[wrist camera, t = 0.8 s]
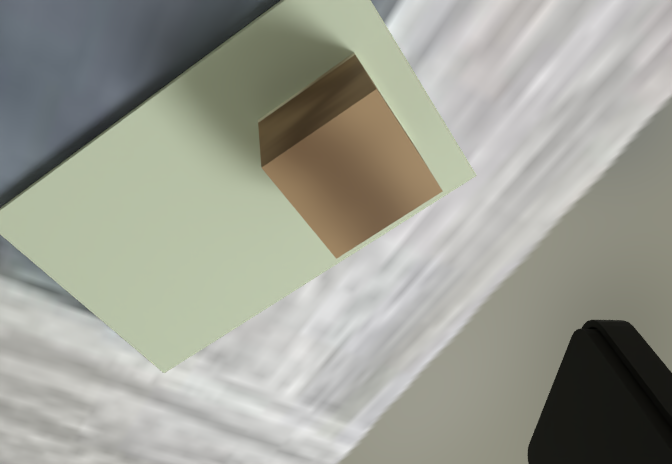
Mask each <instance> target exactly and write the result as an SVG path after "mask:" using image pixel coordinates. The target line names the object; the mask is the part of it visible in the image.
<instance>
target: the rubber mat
mask: <svg viewBox="0 0 672 464" xmlns="http://www.w3.org/2000/svg"><path fill="white" fill-rule="evenodd" d="M353 53H355V55H356V56H357V58H358V59H359V61H360V62H361V64H362V65H363V67H364V68H365V70H366V71H367V73H368V75H369V76H370V78H371V79H372V81H373V82H374V84H375V85H376V87H377V88H378V90H379V92H380V93H381V95H382V96H383V98H384V99H385V101H386V102H387V104H388V105H389V107H390V108H391V110H392V112H393V113H394V115H395V116H396V118H397V119H398V121H399V122H400V124H401V125H402V127H403V128H404V130H405V132H406V133H407V135H408V136H409V138H410V139H411V141H412V142H413V144H414V145H415V147H416V149H417V150H418V152H419V154H420V155H421V157H422V158H423V160H424V162H425V163H426V165H427V166H428V168H429V170H430V171H431V173H432V174H433V176H434V178H435V179H436V181H437V182H438V184H439V186H440V187H441V189H442V191H443V192H441V193H439V194H438V195H436V196H435V197H433V198H432V199H430V200H428V201H427V202H425V203H424V204H422V205H421V206H419V207H417V208H416V209H414V210H413V211H411V212H409V213H408V214H406V215H405V216H403V217H402V218H400V219H398V220H397V221H395V222H394V223H392V224H391V225H389V226H387V227H386V228H384V229H383V230H381V231H380V232H378V233H376V234H375V235H373V236H372V237H370V238H368V239H367V240H365V241H364V242H362V243H361V244H359V245H357V246H356V247H354V248H353V249H351V250H350V251H348V252H346V253H345V254H343V255H342V256H340V257H339V258H337V259H336V258H335V257H334V255H333V254H332V253H331V252H330V250H329V249H328V248H327V247H326V246H325V244H324V243H323V242H322V241H321V240H320V238H319V237H318V236H317V235H316V233H315V232H314V231H313V230H312V229H311V227H310V226H309V225H308V224H307V223H306V221H305V220H304V219H303V218H302V216H301V215H300V214H299V213H298V212H297V210H296V209H295V208H294V207H293V206H292V204H291V203H290V202H289V201H288V199H287V198H286V197H285V196H284V195H283V193H282V192H281V191H280V190H279V189H278V187H277V186H276V185H275V184H274V183H273V181H272V180H271V179H270V178H269V176H268V175H267V174H266V173H265V172H264V170H263V169H262V168H261V156H260V142H259V129H258V120H259V119H260V118H261V117H263V116H264V115H266V114H267V113H269V112H270V111H271V110H273V109H274V108H276V107H277V106H279V105H280V104H281V103H283V102H284V101H286V100H287V99H289V98H290V97H291V96H293V95H294V94H296V93H297V92H299V91H300V90H301V89H303V88H304V87H306V86H307V85H308V84H310V83H311V82H313V81H314V80H316V79H317V78H318V77H320V76H321V75H323V74H324V73H326V72H327V71H328V70H330V69H331V68H333V67H334V66H336V65H337V64H338V63H340V62H341V61H343V60H344V59H346V58H347V57H348V56H350V55H351V54H353ZM475 176H476V174H475V172H474V171H473V169H472V167H471V166H470V164H469V162H468V161H467V159H466V157H465V156H464V154H463V152H462V151H461V149H460V147H459V146H458V144H457V142H456V141H455V139H454V138H453V136H452V134H451V133H450V131H449V129H448V128H447V126H446V124H445V123H444V121H443V119H442V118H441V116H440V114H439V113H438V111H437V109H436V108H435V106H434V104H433V103H432V101H431V100H430V98H429V96H428V95H427V93H426V91H425V90H424V88H423V86H422V85H421V83H420V81H419V80H418V78H417V76H416V75H415V73H414V71H413V70H412V68H411V66H410V65H409V63H408V62H407V60H406V58H405V57H404V55H403V53H402V52H401V50H400V48H399V47H398V45H397V43H396V42H395V40H394V38H393V37H392V35H391V33H390V32H389V30H388V28H387V27H386V25H385V24H384V22H383V20H382V19H381V17H380V15H379V14H378V12H377V10H376V9H375V7H374V5H373V4H372V2H371V0H281V1H279V2H278V3H277V4H275V5H274V6H273V7H271V8H270V9H269V10H267V11H266V12H264V13H263V14H262V15H260V16H259V17H258V18H256V19H255V20H254V21H252V22H251V23H250V24H248V25H247V26H246V27H244V28H243V29H241V30H240V31H239V32H237V33H236V34H235V35H233V36H232V37H231V38H229V39H228V40H227V41H225V42H224V43H223V44H221V45H220V46H218V47H217V48H216V49H214V50H213V51H212V52H210V53H209V54H208V55H206V56H205V57H204V58H202V59H201V60H200V61H198V62H197V63H195V64H194V65H193V66H191V67H190V68H189V69H187V70H186V71H185V72H183V73H182V74H181V75H179V76H178V77H177V78H175V79H174V80H172V81H171V82H170V83H168V84H167V85H166V86H164V87H163V88H162V89H160V90H159V91H158V92H156V93H155V94H154V95H152V96H151V97H149V98H148V99H147V100H145V101H144V102H143V103H141V104H140V105H139V106H137V107H136V108H135V109H133V110H132V111H131V112H129V113H128V114H126V115H125V116H124V117H122V118H121V119H120V120H118V121H117V122H116V123H114V124H113V125H112V126H110V127H109V128H108V129H106V130H105V131H103V132H102V133H101V134H99V135H98V136H97V137H95V138H94V139H93V140H91V141H90V142H89V143H87V144H86V145H85V146H83V147H82V148H80V149H79V150H78V151H76V152H75V153H74V154H72V155H71V156H70V157H68V158H67V159H66V160H64V161H63V162H62V163H60V164H59V165H57V166H56V167H55V168H53V169H52V170H51V171H49V172H48V173H47V174H45V175H44V176H43V177H41V178H40V179H39V180H37V181H36V182H34V183H33V184H32V185H30V186H29V187H28V188H26V189H25V190H24V191H22V192H21V193H20V194H18V195H17V196H16V197H14V198H13V199H11V200H10V201H9V202H7V203H6V204H5V205H3V206H2V207H1V208H0V235H2V236H3V237H4V238H5V239H6V240H8V241H9V242H10V243H11V244H12V245H13V246H15V247H16V248H17V249H18V250H19V251H21V252H22V253H23V254H24V255H25V256H26V257H28V258H29V259H30V260H31V261H32V262H33V263H35V264H36V265H37V266H38V267H39V268H41V269H42V270H43V271H44V272H45V273H46V274H48V275H49V276H50V277H51V278H52V279H54V280H55V281H56V282H57V283H58V284H59V285H61V286H62V287H63V288H64V289H65V290H66V291H68V292H69V293H70V294H71V295H72V296H74V297H75V298H76V299H77V300H78V301H79V302H81V303H82V304H83V305H84V306H85V307H86V308H88V309H89V310H90V311H91V312H92V313H94V314H95V315H96V316H97V317H98V318H99V319H101V320H102V321H103V322H104V323H105V324H107V325H108V326H109V327H110V328H111V329H112V330H114V331H115V332H116V333H117V334H118V335H119V336H121V337H122V338H123V339H124V340H125V341H127V342H128V343H129V344H130V345H131V346H132V347H134V348H135V349H136V350H137V351H138V352H140V353H141V354H142V355H143V356H144V357H145V358H147V359H148V360H149V361H150V362H151V363H152V364H154V365H155V366H156V367H157V368H158V369H160V370H161V371H162V372H163V373H165V372H167V371H168V370H170V369H172V368H173V367H175V366H176V365H178V364H179V363H181V362H183V361H184V360H186V359H187V358H189V357H190V356H192V355H194V354H195V353H197V352H198V351H200V350H202V349H203V348H205V347H206V346H208V345H209V344H211V343H213V342H214V341H216V340H217V339H219V338H221V337H222V336H224V335H225V334H227V333H228V332H230V331H232V330H233V329H235V328H236V327H238V326H240V325H241V324H243V323H244V322H246V321H247V320H249V319H251V318H252V317H254V316H255V315H257V314H258V313H260V312H262V311H263V310H265V309H266V308H268V307H270V306H271V305H273V304H274V303H276V302H277V301H279V300H281V299H282V298H284V297H285V296H287V295H289V294H290V293H292V292H293V291H295V290H296V289H298V288H300V287H301V286H303V285H304V284H306V283H308V282H309V281H311V280H312V279H314V278H315V277H317V276H319V275H320V274H322V273H323V272H325V271H327V270H328V269H330V268H331V267H333V266H334V265H336V264H338V263H339V262H341V261H342V260H344V259H345V258H347V257H349V256H350V255H352V254H353V253H355V252H357V251H358V250H360V249H361V248H363V247H364V246H366V245H368V244H369V243H371V242H372V241H374V240H376V239H377V238H379V237H380V236H382V235H383V234H385V233H387V232H388V231H390V230H391V229H393V228H395V227H396V226H398V225H399V224H401V223H402V222H404V221H406V220H407V219H409V218H410V217H412V216H413V215H415V214H417V213H418V212H420V211H421V210H423V209H425V208H426V207H428V206H429V205H431V204H432V203H434V202H436V201H437V200H439V199H440V198H442V197H444V196H445V195H447V194H448V193H450V192H451V191H453V190H455V189H456V188H458V187H459V186H461V185H463V184H464V183H466V182H467V181H469V180H470V179H472V178H474V177H475Z"/></svg>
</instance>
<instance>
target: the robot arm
mask: <svg viewBox="0 0 672 464" xmlns="http://www.w3.org/2000/svg"><path fill="white" fill-rule="evenodd" d="M528 462H529V464H672V373H671V371H670V370H669V369H668V368H667V367H666V365H665V364H664V363H663V362H662V361H661V359H660V358H659V357H658V356H657V354H656V353H655V352H654V351H653V350H652V348H651V347H650V346H649V345H648V344H647V343H646V341H645V340H644V339H643V338H642V336H641V335H640V334H639V333H638V332H637V330H636V329H635V328H634V327H633V326H632V325H631V324H630V323H629V322H626V321H621V320H590V321H587V322H586V323H585V324H584V325H583V327H582V329H578V330H576V331H575V332H574V333H573V335H572V337H571V340H570V343H569V345H568V347H567V350H566V353H565V355H564V358H563V360H562V363H561V365H560V368H559V370H558V373H557V375H556V378H555V380H554V383H553V385H552V388H551V391H550V393H549V395H548V398H547V400H546V403H545V406H544V408H543V411H542V413H541V416H540V418H539V421H538V424H537V426H536V429H535V431H534V433H533V436H532V438H531V441H530V444H529V447H528Z"/></svg>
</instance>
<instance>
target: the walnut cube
mask: <svg viewBox="0 0 672 464" xmlns="http://www.w3.org/2000/svg"><path fill="white" fill-rule="evenodd" d="M258 129H259V142H260V156H261V168H262V169H263V170H264V172H265V173H266V174H267V175H268V176H269V178H270V179H271V180H272V181H273V183H274V184H275V185H276V186H277V187H278V189H279V190H280V191H281V192H282V193H283V195H284V196H285V197H286V198H287V199H288V201H289V202H290V203H291V204H292V206H293V207H294V208H295V209H296V210H297V212H298V213H299V214H300V215H301V216H302V218H303V219H304V220H305V221H306V223H307V224H308V225H309V226H310V227H311V229H312V230H313V231H314V232H315V233H316V235H317V236H318V237H319V238H320V240H321V241H322V242H323V243H324V244H325V246H326V247H327V248H328V249H329V250H330V252H331V253H332V254H333V255H334V257H335V258H336V259H337V258H339V257H340V256H342V255H343V254H345V253H346V252H348V251H350V250H351V249H353V248H354V247H356V246H357V245H359V244H361V243H362V242H364V241H365V240H367V239H368V238H370V237H372V236H373V235H375V234H376V233H378V232H380V231H381V230H383V229H384V228H386V227H387V226H389V225H391V224H392V223H394V222H395V221H397V220H398V219H400V218H402V217H403V216H405V215H406V214H408V213H409V212H411V211H413V210H414V209H416V208H417V207H419V206H421V205H422V204H424V203H425V202H427V201H428V200H430V199H432V198H433V197H435V196H436V195H438V194H439V193H441V192H443V191H442V189H441V187H440V186H439V184H438V182H437V181H436V179H435V178H434V176H433V174H432V173H431V171H430V170H429V168H428V166H427V165H426V163H425V162H424V160H423V158H422V157H421V155H420V154H419V152H418V150H417V149H416V147H415V145H414V144H413V142H412V141H411V139H410V138H409V136H408V135H407V133H406V132H405V130H404V128H403V127H402V125H401V124H400V122H399V121H398V119H397V118H396V116H395V115H394V113H393V112H392V110H391V108H390V107H389V105H388V104H387V102H386V101H385V99H384V98H383V96H382V95H381V93H380V92H379V90H378V88H377V87H376V85H375V84H374V82H373V81H372V79H371V78H370V76H369V75H368V73H367V71H366V70H365V68H364V67H363V65H362V64H361V62H360V61H359V59H358V58H357V56H356V55H355V53H353V54H351V55H350V56H348V57H347V58H346V59H344V60H343V61H341V62H340V63H338V64H337V65H336V66H334V67H333V68H331V69H330V70H328V71H327V72H326V73H324V74H323V75H321V76H320V77H318V78H317V79H316V80H314V81H313V82H311V83H310V84H308V85H307V86H306V87H304V88H303V89H301V90H300V91H299V92H297V93H296V94H294V95H293V96H291V97H290V98H289V99H287V100H286V101H284V102H283V103H281V104H280V105H279V106H277V107H276V108H274V109H273V110H271V111H270V112H269V113H267V114H266V115H264V116H263V117H261V118H260V119H259V120H258Z"/></svg>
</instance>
